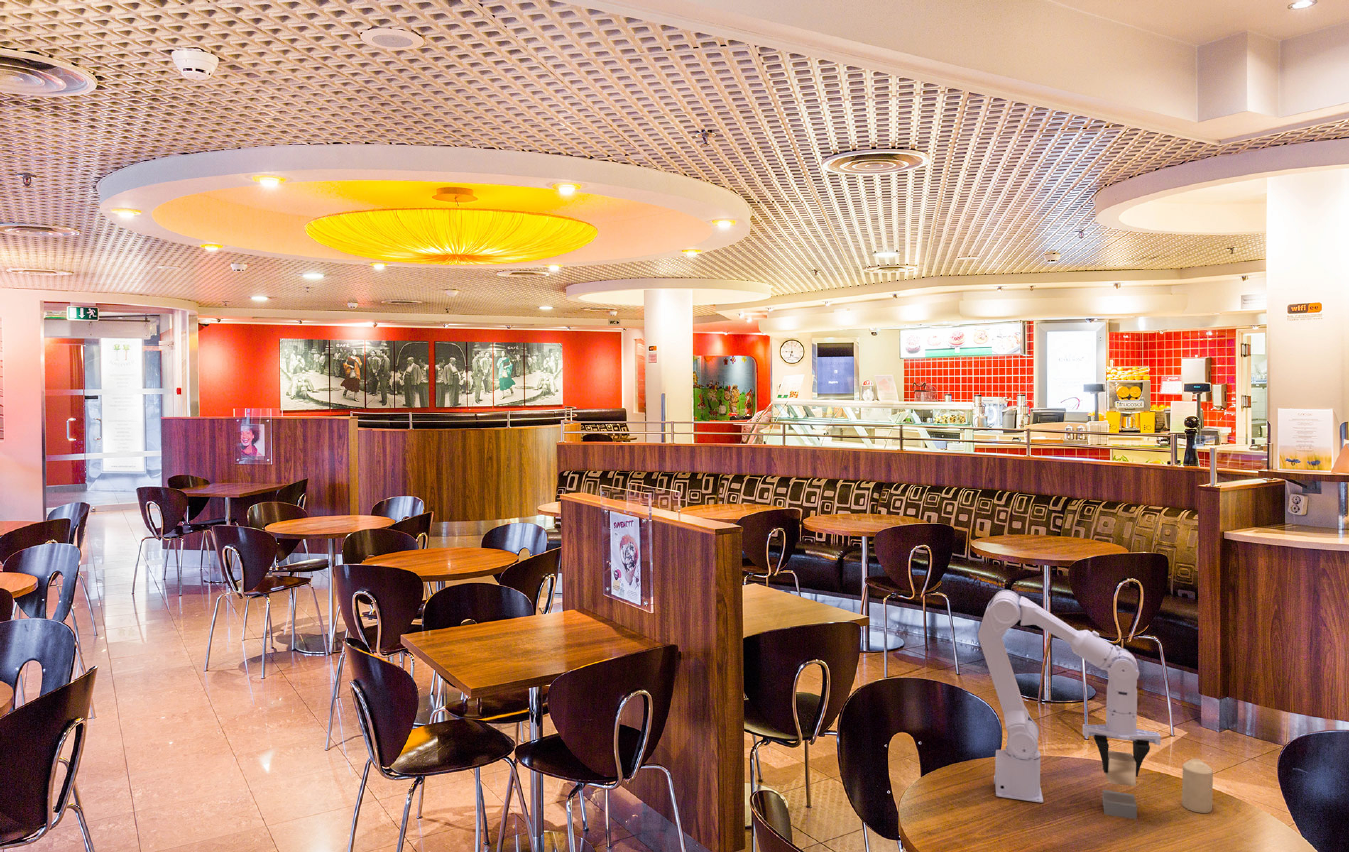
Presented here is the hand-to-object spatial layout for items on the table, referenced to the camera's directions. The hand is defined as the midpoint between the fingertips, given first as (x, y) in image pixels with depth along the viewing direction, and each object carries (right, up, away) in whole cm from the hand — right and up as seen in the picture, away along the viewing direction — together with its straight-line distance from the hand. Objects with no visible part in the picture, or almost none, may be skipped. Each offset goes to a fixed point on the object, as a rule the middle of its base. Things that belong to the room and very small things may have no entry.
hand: (1120, 773), depth 183 cm
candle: (+17, -8, +2) cm, 19 cm away
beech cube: (0, -1, 0) cm, 1 cm away
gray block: (0, -8, 0) cm, 8 cm away
